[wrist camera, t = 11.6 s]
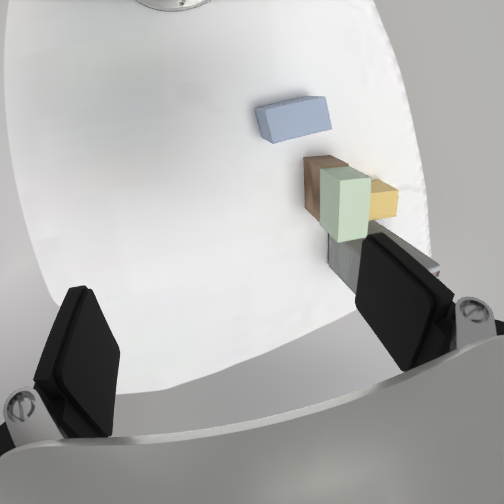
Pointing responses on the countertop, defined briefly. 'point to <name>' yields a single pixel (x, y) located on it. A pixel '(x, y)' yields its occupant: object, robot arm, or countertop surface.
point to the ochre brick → (382, 200)
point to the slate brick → (293, 118)
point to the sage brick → (344, 202)
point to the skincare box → (349, 252)
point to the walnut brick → (316, 180)
